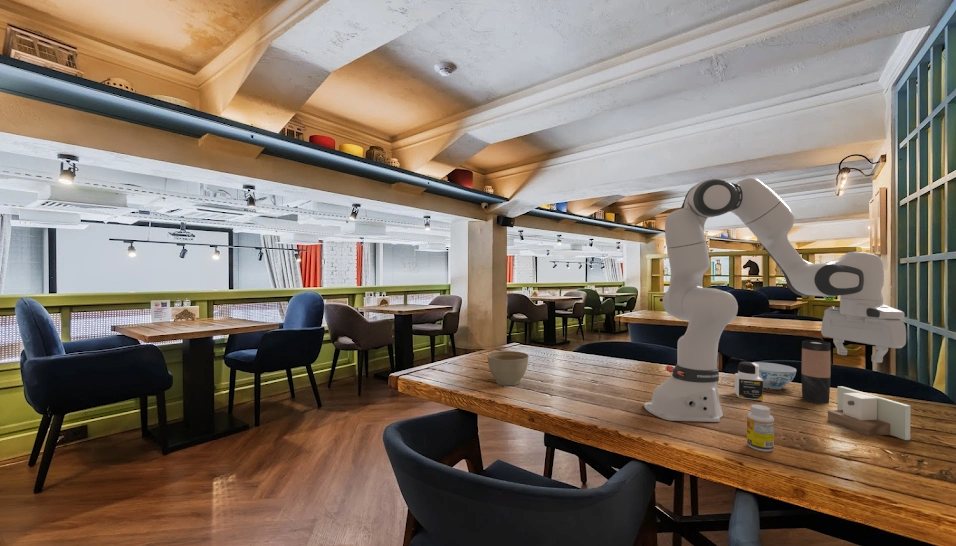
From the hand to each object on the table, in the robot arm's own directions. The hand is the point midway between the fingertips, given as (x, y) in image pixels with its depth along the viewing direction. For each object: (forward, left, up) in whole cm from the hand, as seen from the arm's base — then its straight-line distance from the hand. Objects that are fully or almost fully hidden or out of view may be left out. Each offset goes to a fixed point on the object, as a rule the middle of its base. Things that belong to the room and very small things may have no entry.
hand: (858, 358), depth 115 cm
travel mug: (+11, +23, -20) cm, 32 cm away
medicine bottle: (-9, +29, -20) cm, 36 cm away
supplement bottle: (-38, -9, -20) cm, 44 cm away
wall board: (+4, 0, -20) cm, 20 cm away
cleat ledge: (0, 0, -20) cm, 20 cm away
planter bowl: (-90, +55, -20) cm, 108 cm away
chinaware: (+9, +39, -20) cm, 44 cm away
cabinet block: (0, 0, -17) cm, 17 cm away
